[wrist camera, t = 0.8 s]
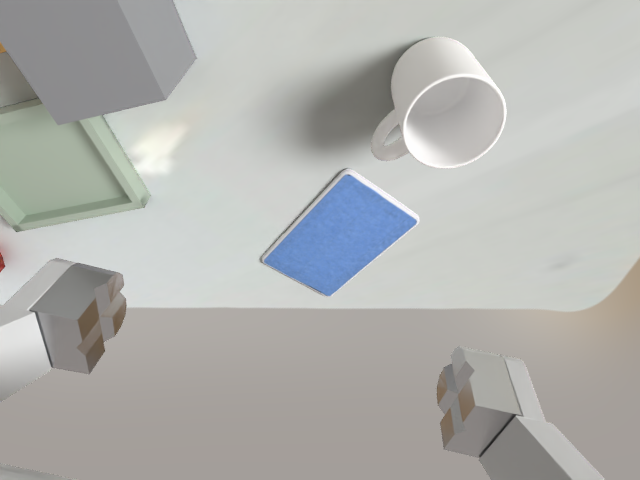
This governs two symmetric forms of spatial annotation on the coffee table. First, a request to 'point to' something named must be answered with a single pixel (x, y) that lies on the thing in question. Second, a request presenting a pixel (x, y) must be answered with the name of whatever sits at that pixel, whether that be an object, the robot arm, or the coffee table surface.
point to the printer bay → (96, 52)
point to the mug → (441, 107)
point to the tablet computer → (340, 234)
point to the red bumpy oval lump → (1, 263)
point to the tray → (62, 169)
